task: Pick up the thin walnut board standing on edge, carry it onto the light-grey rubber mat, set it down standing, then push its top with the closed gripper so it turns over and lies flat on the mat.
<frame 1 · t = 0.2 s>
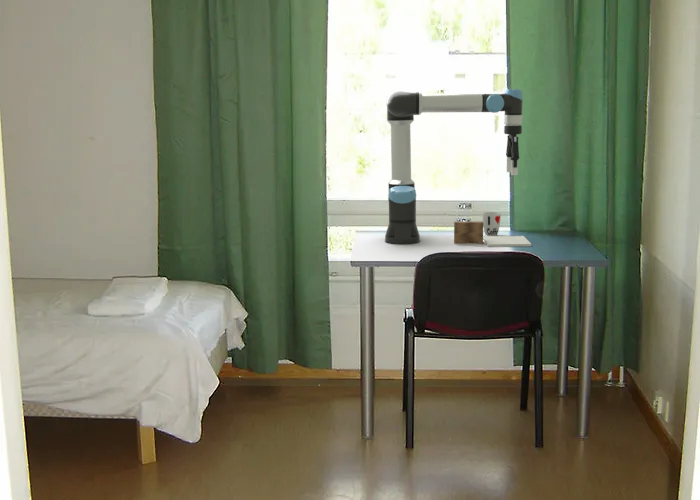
hand: (512, 173, 377), 28 cm above the table, fingers open, 13 cm apart
cup: (491, 235, 383), on the table
mat: (506, 242, 365), on the table
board: (468, 242, 365), on the table
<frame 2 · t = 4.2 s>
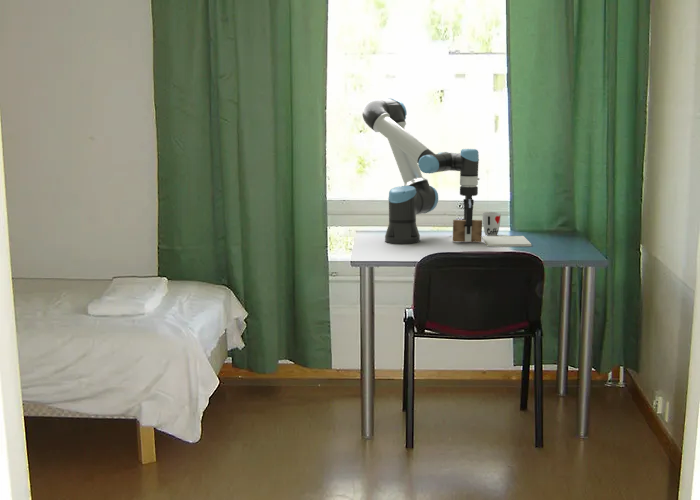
hand: (467, 240, 365), 1 cm above the table, fingers closed on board, 3 cm apart
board: (466, 241, 365), point 1 cm above the table, touching gripper
everything else where it was.
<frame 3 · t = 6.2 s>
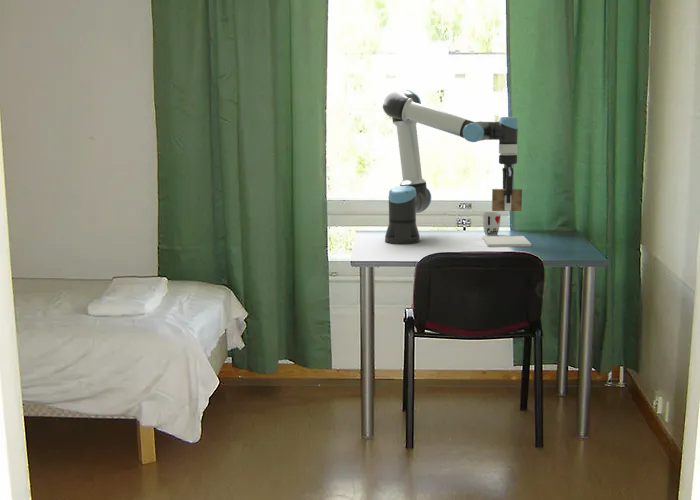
hand: (507, 209, 361), 14 cm above the table, fingers closed on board, 3 cm apart
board: (506, 210, 361), point 14 cm above the table, touching gripper
everything else where it was.
when the fingers open (2 cm above the table, at t = 8.4 s): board stays where it is, resting on mat.
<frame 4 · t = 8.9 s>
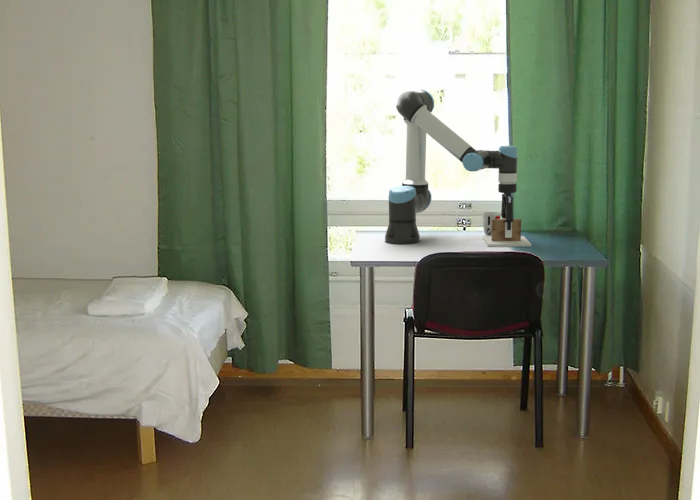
hand: (506, 235, 363), 3 cm above the table, fingers open, 10 cm apart
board: (505, 240, 364), point 1 cm above the table, touching mat
everything else where it was.
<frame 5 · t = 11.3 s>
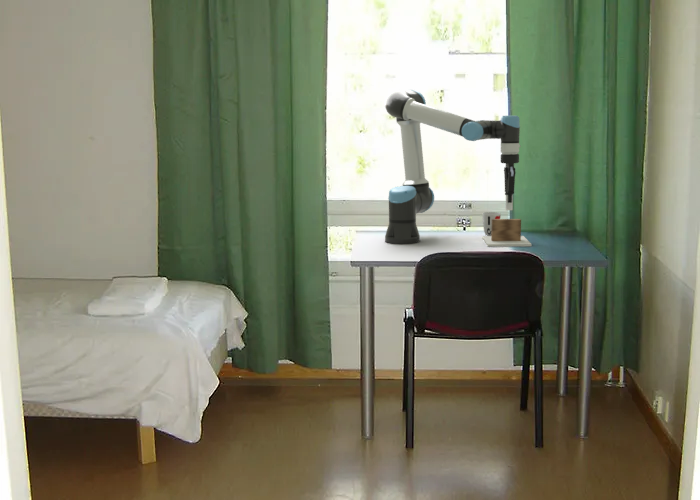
hand: (509, 210, 357), 15 cm above the table, fingers closed
nothing on the table moved.
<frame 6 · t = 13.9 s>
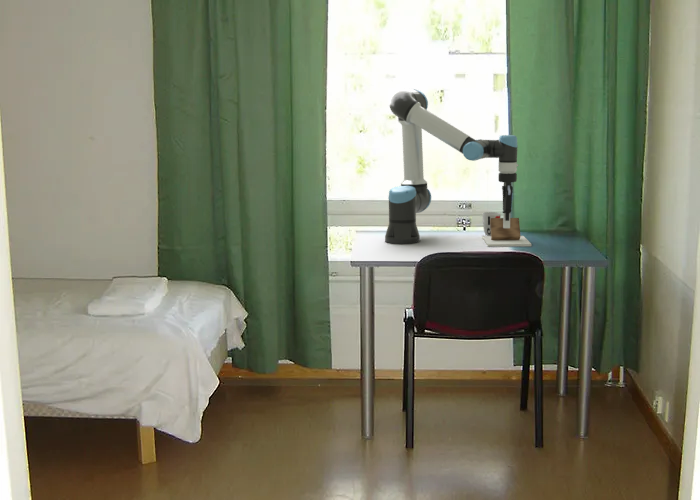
hand: (506, 227, 363), 6 cm above the table, fingers closed
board: (505, 238, 364), point 2 cm above the table, tilted 37°, touching mat
everything else where it was.
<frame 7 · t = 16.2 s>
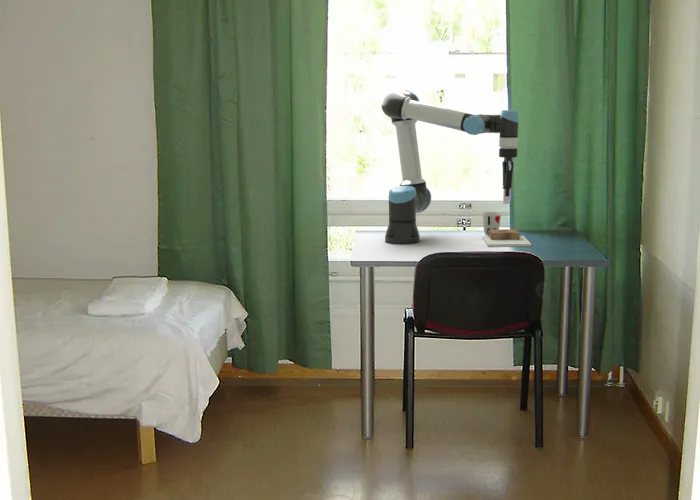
hand: (506, 203, 361), 17 cm above the table, fingers closed
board: (505, 236, 365), point 2 cm above the table, tilted 90°, touching mat
everything else where it was.
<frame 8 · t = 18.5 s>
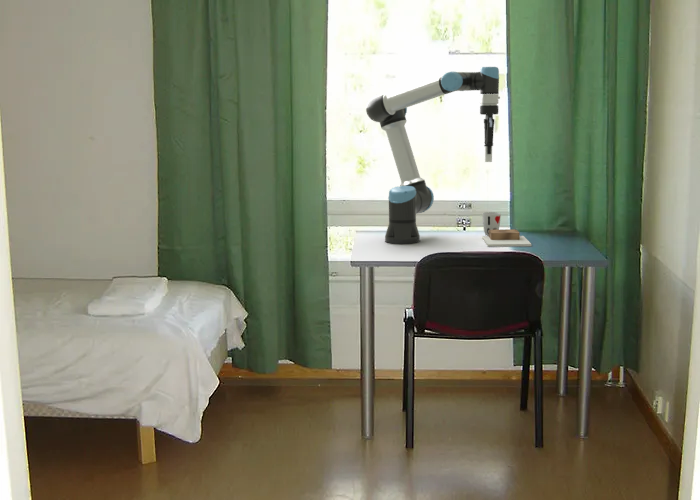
hand: (488, 161, 359), 34 cm above the table, fingers closed
nothing on the table moved.
at the end: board tilted 90°; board inside the target area on the mat (0.6 cm from its centre), point 2.5 cm above the mat's base; the gripper is holding nothing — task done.
